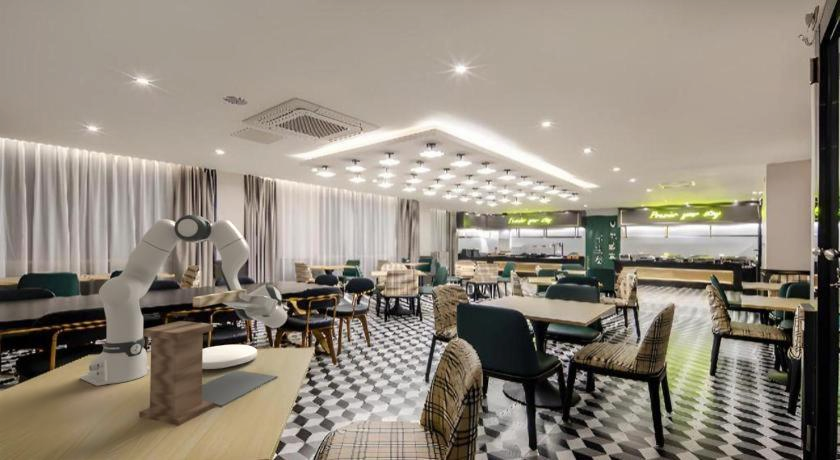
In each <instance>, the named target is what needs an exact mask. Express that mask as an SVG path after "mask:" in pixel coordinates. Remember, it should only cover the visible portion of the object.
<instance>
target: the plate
mask: <svg viewBox="0 0 840 460" xmlns="http://www.w3.org/2000/svg"><path fill="white" fill-rule="evenodd" d="M257 357H258V349H257V348H256V347H254V346H251V345H247V344H224V345H223V344H222V345H215V346H209V347H205V348H204V347H203V354H202V370H217V369H224V368H230V367H234V366H237V365H242V364H245V363H248V362H250V361H252V360H254V359H256V358H257Z"/></svg>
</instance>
